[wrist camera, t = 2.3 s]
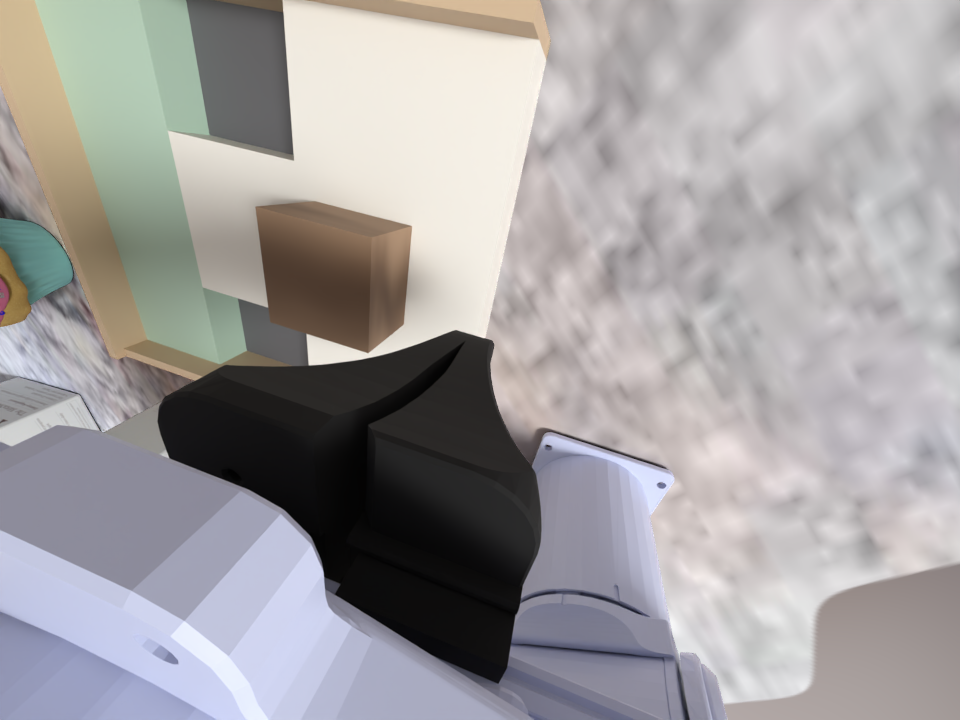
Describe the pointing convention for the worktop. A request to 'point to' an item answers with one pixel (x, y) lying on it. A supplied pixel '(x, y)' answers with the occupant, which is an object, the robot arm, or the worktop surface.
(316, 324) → the walnut block
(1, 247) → the cupcake
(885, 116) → the worktop surface
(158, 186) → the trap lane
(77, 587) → the robot arm
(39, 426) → the supplement box
